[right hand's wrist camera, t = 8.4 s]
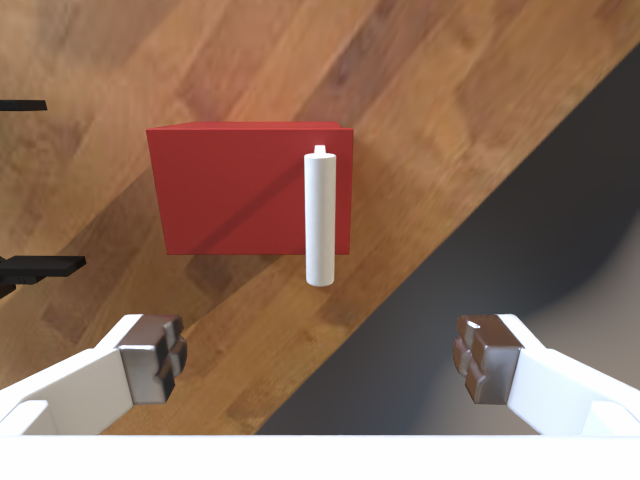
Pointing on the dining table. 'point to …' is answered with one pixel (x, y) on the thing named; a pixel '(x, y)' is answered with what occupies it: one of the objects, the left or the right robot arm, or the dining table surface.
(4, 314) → the dining table surface
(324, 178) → the lid
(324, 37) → the dining table surface
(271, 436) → the right robot arm
